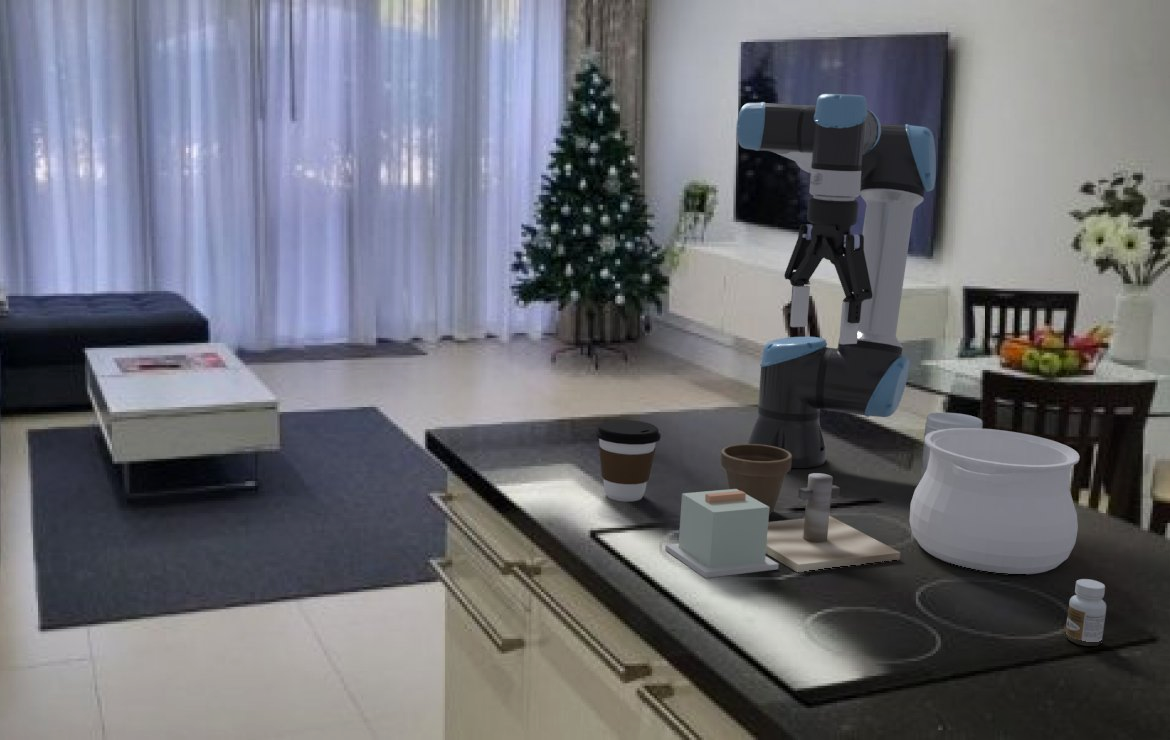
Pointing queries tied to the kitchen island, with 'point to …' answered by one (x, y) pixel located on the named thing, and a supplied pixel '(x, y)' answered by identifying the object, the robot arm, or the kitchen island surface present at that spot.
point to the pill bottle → (1087, 611)
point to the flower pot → (756, 470)
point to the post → (822, 535)
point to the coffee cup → (626, 457)
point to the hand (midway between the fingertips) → (822, 334)
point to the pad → (719, 571)
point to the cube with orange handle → (723, 527)
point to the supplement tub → (945, 422)
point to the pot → (996, 501)
